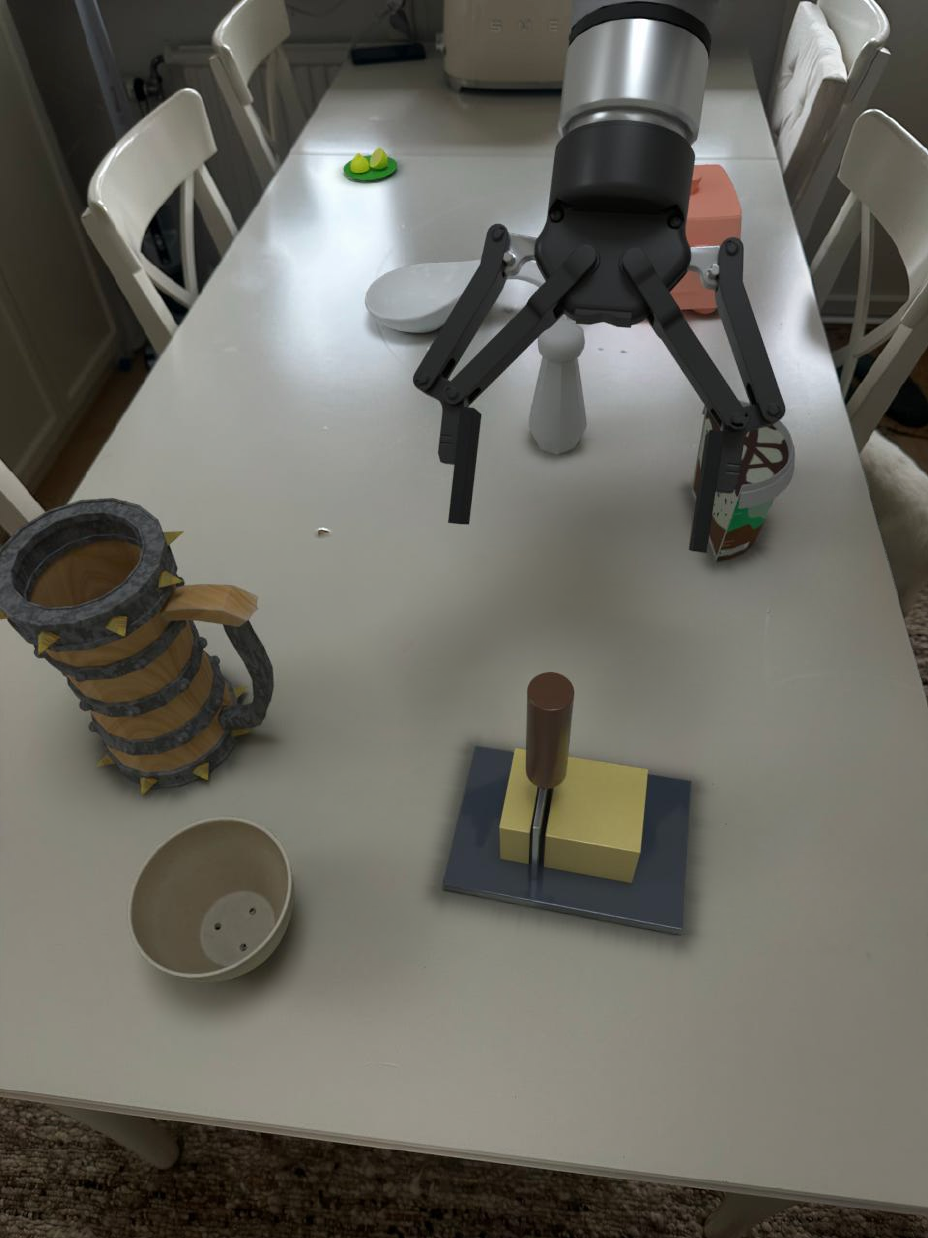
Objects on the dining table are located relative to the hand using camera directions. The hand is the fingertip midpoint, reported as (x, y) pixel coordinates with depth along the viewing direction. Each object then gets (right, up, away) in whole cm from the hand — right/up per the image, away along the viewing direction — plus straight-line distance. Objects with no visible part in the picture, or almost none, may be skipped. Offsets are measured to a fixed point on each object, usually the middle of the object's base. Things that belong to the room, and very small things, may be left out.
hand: (575, 538), depth 49 cm
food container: (+19, +4, +31) cm, 36 cm away
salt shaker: (+3, +13, +39) cm, 41 cm away
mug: (-27, -14, +19) cm, 36 cm away
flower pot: (-22, -26, +9) cm, 35 cm away
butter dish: (+1, -20, +12) cm, 23 cm away
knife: (-1, -19, +12) cm, 22 cm away
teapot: (+18, +34, +55) cm, 67 cm away
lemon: (-20, +62, +79) cm, 102 cm away
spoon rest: (-6, +31, +53) cm, 62 cm away
